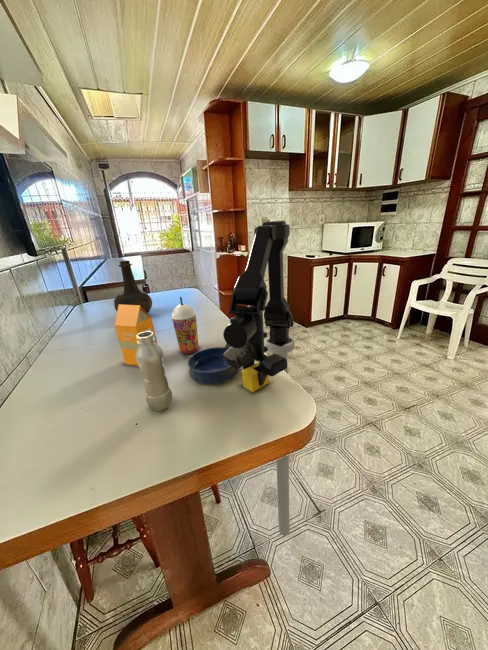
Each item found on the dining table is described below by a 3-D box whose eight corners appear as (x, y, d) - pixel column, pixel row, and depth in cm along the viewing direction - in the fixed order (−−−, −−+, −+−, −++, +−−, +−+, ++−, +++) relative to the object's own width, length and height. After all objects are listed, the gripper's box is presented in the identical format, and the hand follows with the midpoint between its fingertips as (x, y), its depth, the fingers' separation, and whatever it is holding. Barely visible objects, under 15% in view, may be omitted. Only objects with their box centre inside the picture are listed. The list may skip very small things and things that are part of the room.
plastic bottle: (150, 417, 64) (131, 343, 57) (146, 402, 70) (128, 333, 62) (177, 408, 67) (162, 336, 59) (170, 394, 73) (156, 326, 65)
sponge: (258, 377, 77) (257, 362, 75) (268, 382, 74) (267, 367, 72) (242, 386, 74) (241, 370, 72) (252, 392, 71) (251, 376, 69)
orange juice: (140, 353, 97) (127, 300, 89) (160, 355, 94) (148, 301, 86) (124, 364, 90) (109, 308, 83) (146, 367, 87) (131, 309, 80)
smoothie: (173, 354, 95) (162, 300, 87) (186, 343, 102) (177, 293, 94) (193, 356, 91) (184, 301, 84) (205, 346, 99) (197, 293, 91)
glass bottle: (121, 312, 144) (107, 260, 133) (155, 308, 147) (144, 256, 137) (114, 324, 128) (98, 265, 117) (153, 318, 131) (140, 261, 121)
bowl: (220, 354, 92) (219, 342, 90) (250, 370, 81) (249, 357, 79) (181, 372, 83) (178, 359, 81) (208, 393, 72) (206, 379, 70)
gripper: (205, 330, 70) (212, 381, 76) (254, 353, 56) (257, 412, 62) (238, 318, 76) (242, 366, 82) (288, 336, 63) (289, 391, 69)
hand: (255, 382), depth 74 cm, fingers closed on sponge, 4 cm apart
